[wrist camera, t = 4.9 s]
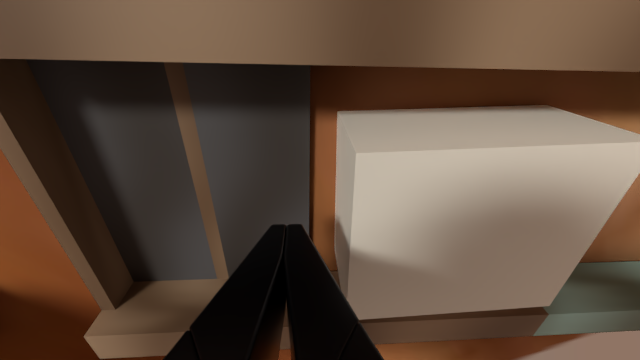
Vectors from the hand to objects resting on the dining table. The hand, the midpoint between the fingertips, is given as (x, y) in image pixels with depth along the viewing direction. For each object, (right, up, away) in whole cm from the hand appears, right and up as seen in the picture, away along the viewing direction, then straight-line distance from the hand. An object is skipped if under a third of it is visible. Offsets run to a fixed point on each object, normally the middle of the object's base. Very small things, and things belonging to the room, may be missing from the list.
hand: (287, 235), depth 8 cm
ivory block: (+5, +1, +3) cm, 6 cm away
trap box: (+6, +1, +3) cm, 6 cm away
